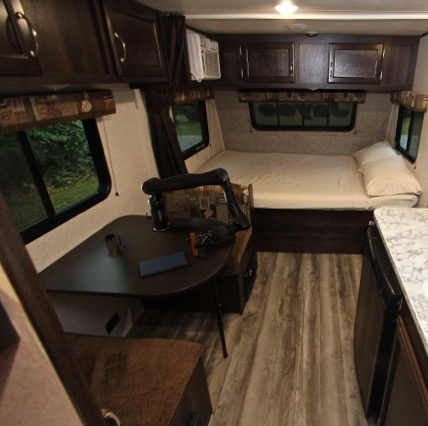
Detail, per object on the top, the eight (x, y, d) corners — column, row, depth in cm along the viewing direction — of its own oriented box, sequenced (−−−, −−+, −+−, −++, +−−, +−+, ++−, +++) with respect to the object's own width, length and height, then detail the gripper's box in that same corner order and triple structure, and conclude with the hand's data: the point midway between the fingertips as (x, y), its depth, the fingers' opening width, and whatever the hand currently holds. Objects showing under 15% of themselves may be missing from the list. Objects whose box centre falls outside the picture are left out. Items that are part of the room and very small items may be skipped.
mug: (106, 256, 157) (100, 236, 152) (113, 250, 162) (107, 231, 157) (120, 257, 156) (114, 237, 151) (127, 251, 161) (121, 232, 156)
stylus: (193, 255, 158) (189, 233, 152) (198, 254, 160) (194, 232, 154) (194, 257, 157) (190, 235, 151) (199, 256, 158) (195, 234, 152)
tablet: (139, 263, 151) (139, 261, 151) (184, 252, 161) (183, 250, 161) (141, 278, 140) (140, 276, 140) (188, 265, 150) (188, 263, 150)
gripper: (210, 223, 167) (183, 233, 156) (223, 232, 158) (195, 243, 147) (212, 235, 170) (185, 245, 159) (225, 244, 161) (197, 255, 150)
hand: (190, 244), depth 153 cm, fingers open, 8 cm apart
